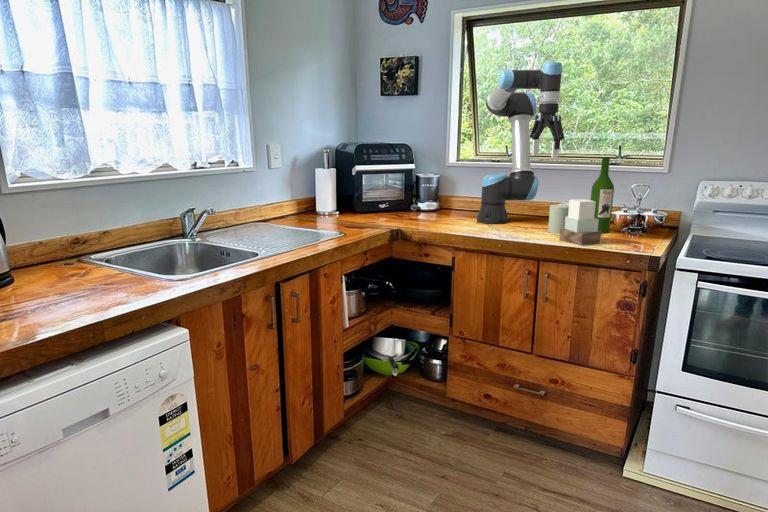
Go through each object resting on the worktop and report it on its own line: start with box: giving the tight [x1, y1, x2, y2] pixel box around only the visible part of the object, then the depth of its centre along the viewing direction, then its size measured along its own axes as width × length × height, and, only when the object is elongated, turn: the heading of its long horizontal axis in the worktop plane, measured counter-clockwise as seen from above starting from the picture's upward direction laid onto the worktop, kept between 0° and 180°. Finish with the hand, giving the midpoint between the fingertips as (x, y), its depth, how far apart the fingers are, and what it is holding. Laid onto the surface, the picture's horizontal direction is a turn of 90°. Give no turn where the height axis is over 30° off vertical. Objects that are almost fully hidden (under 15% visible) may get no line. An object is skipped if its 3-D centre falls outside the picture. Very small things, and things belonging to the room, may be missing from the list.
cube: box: [568, 198, 596, 220], centre depth 197 cm, size 7×7×7 cm
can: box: [547, 204, 569, 235], centre depth 218 cm, size 9×9×12 cm
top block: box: [565, 216, 599, 233], centre depth 198 cm, size 9×9×5 cm
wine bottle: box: [590, 156, 615, 235], centre depth 215 cm, size 9×9×32 cm
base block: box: [559, 229, 602, 247], centre depth 199 cm, size 11×11×5 cm
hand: (544, 156), depth 205 cm, fingers open, 13 cm apart
